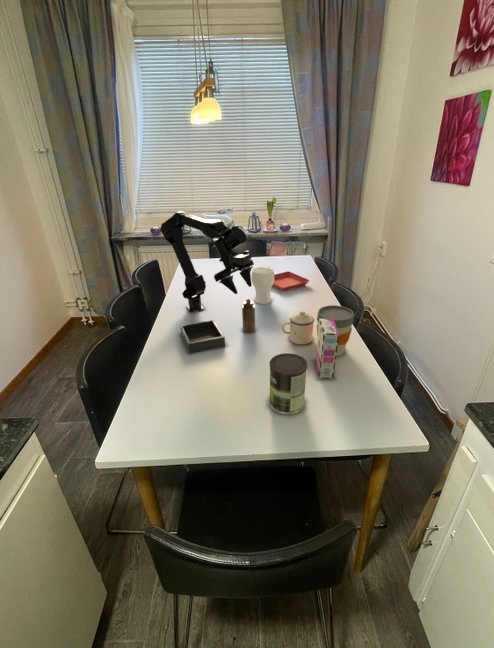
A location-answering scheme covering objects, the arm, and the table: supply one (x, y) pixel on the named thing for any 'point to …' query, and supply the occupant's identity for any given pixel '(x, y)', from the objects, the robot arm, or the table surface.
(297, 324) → the teacup with lid
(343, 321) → the reusable coffee cup
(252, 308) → the pepper mill
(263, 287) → the white vase
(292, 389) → the coffee can
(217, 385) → the table surface
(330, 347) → the candy bar box
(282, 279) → the plant saucer
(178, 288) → the table surface
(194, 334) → the dark grey tray
